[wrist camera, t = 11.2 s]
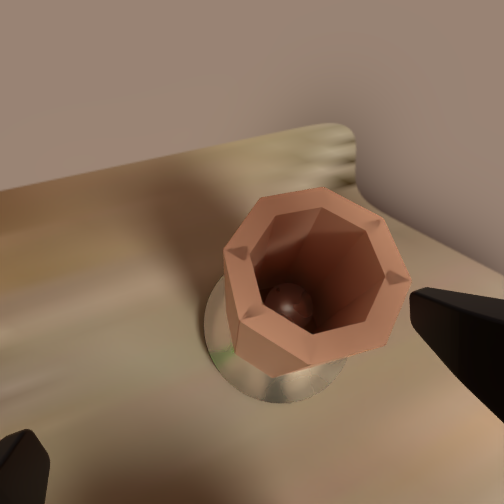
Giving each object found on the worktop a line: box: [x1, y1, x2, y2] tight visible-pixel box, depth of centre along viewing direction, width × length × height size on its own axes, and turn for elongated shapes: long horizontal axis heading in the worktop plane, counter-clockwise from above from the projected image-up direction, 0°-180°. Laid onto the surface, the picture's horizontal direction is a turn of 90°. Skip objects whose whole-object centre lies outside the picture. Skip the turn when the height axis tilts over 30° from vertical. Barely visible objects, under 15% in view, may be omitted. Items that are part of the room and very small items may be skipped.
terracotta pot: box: [223, 187, 412, 378], centre depth 16 cm, size 6×6×10 cm
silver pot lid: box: [204, 275, 347, 403], centre depth 19 cm, size 10×10×5 cm
